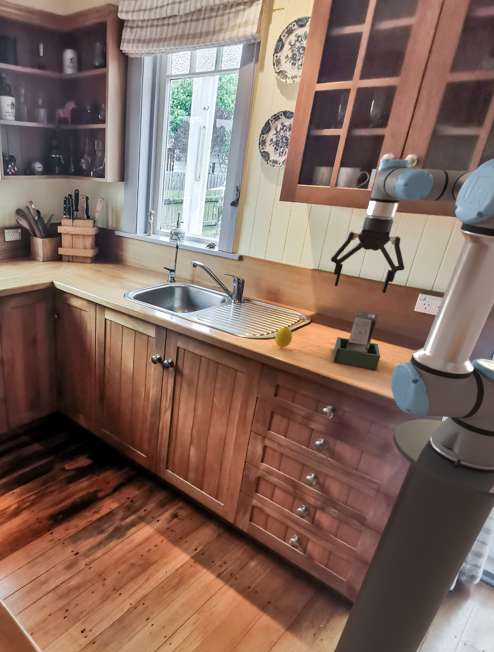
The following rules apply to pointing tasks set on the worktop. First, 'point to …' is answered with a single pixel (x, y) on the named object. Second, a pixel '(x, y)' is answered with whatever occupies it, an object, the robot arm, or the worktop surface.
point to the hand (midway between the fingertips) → (359, 288)
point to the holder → (356, 355)
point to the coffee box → (362, 331)
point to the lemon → (283, 337)
